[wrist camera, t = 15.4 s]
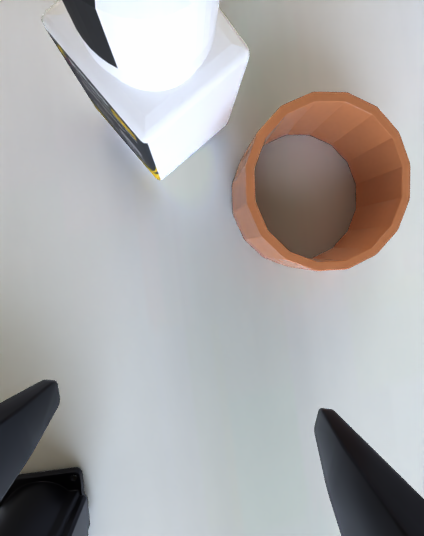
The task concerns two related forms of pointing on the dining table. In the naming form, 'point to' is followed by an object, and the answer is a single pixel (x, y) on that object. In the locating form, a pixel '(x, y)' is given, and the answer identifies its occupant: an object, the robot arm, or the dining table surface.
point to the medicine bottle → (153, 70)
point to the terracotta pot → (361, 166)
